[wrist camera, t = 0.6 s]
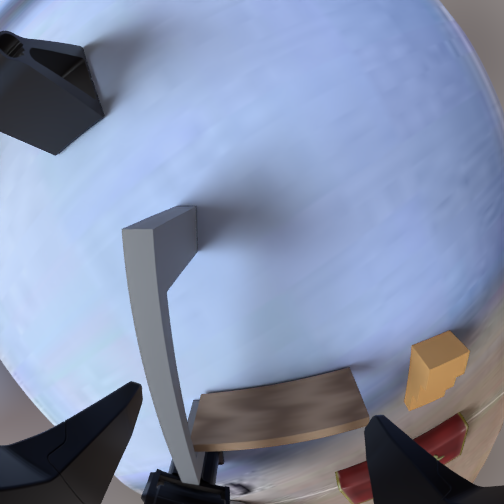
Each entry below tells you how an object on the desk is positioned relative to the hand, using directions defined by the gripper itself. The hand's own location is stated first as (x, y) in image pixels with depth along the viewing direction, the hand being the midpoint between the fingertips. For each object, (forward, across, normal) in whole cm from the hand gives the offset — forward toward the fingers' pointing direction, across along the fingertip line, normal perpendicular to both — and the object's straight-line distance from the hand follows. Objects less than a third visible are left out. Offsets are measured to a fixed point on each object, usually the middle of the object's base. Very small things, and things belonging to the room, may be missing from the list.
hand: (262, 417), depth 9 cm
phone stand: (+14, +20, -13) cm, 27 cm away
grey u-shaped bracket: (+14, +5, +6) cm, 16 cm away
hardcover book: (+14, -30, +27) cm, 42 cm away
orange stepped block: (+14, -20, +7) cm, 26 cm away
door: (+14, +3, +14) cm, 19 cm away
